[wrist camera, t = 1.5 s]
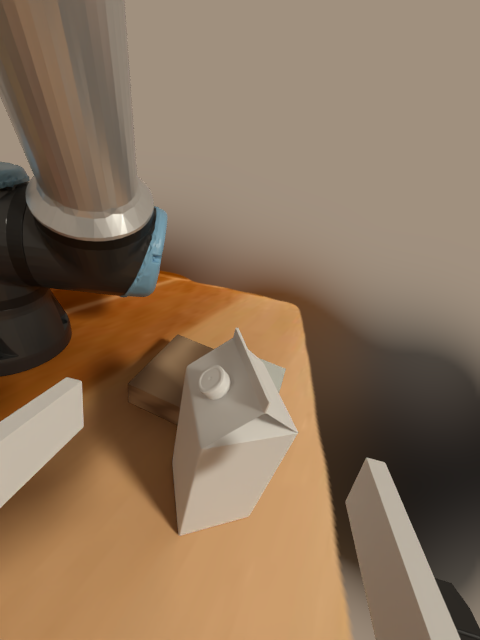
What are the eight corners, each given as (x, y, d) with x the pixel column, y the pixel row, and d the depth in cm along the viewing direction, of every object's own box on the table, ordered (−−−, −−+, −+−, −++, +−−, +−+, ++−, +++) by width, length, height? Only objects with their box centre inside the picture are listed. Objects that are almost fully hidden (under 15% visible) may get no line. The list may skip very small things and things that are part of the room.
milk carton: (231, 450, 32) (276, 327, 22) (249, 517, 27) (320, 396, 16) (171, 460, 29) (191, 327, 19) (178, 537, 24) (210, 408, 14)
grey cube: (237, 400, 39) (244, 377, 36) (247, 378, 43) (254, 356, 40) (268, 414, 38) (279, 391, 35) (275, 390, 42) (285, 368, 39)
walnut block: (128, 404, 34) (128, 383, 32) (175, 352, 44) (177, 334, 42) (210, 442, 33) (215, 423, 30) (240, 379, 43) (245, 362, 40)
